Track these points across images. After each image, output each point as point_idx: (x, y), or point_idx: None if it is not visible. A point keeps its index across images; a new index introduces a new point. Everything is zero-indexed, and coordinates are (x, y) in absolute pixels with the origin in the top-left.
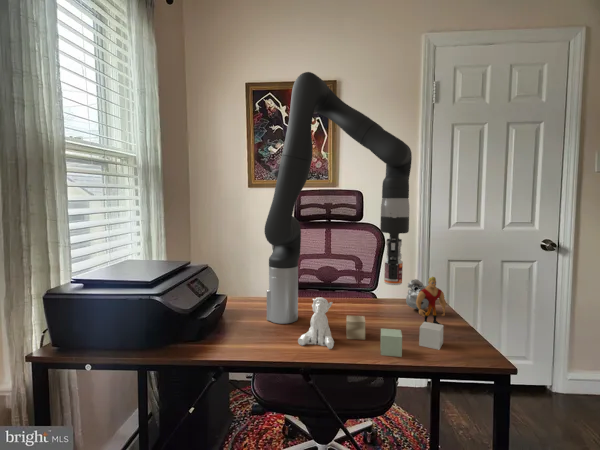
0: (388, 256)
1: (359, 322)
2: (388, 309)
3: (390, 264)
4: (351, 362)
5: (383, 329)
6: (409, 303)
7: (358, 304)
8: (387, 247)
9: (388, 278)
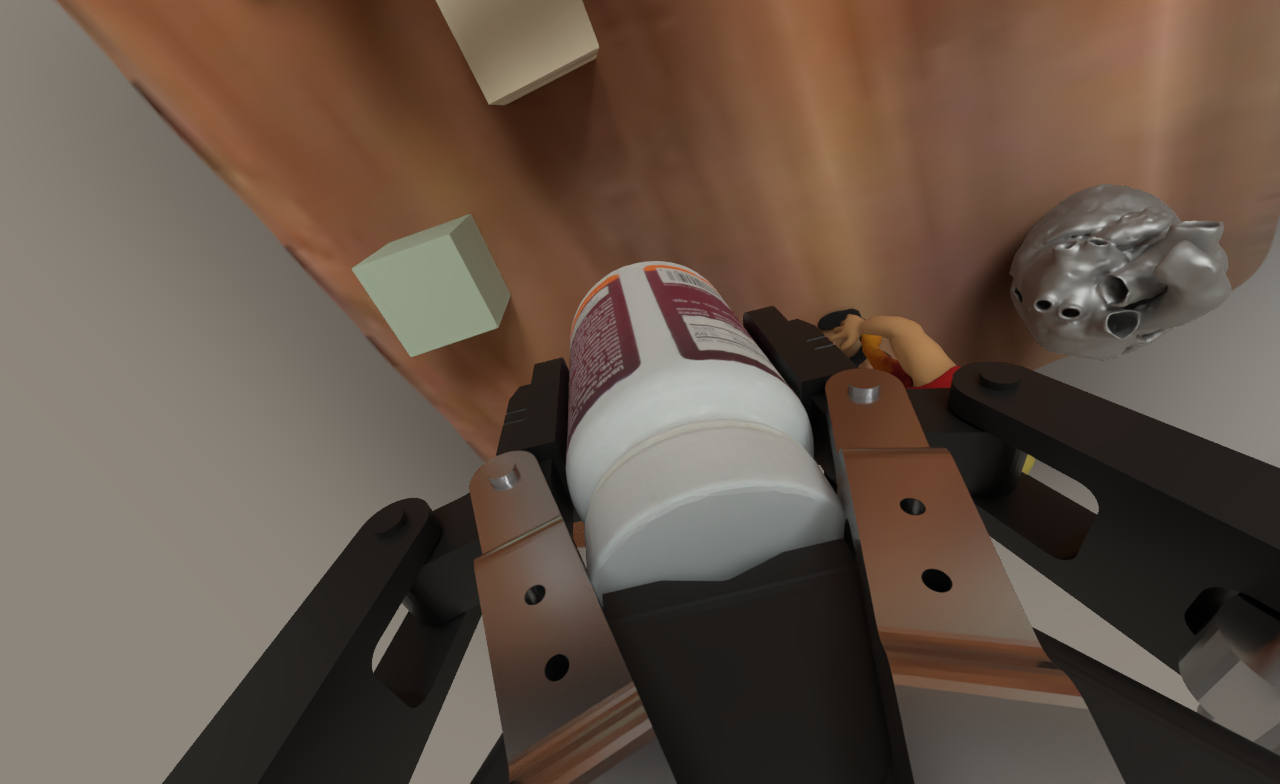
0: (283, 635)
1: (467, 61)
2: (1068, 65)
3: (456, 503)
4: (204, 147)
5: (443, 252)
6: (1049, 218)
7: None
8: (501, 722)
9: (571, 345)
